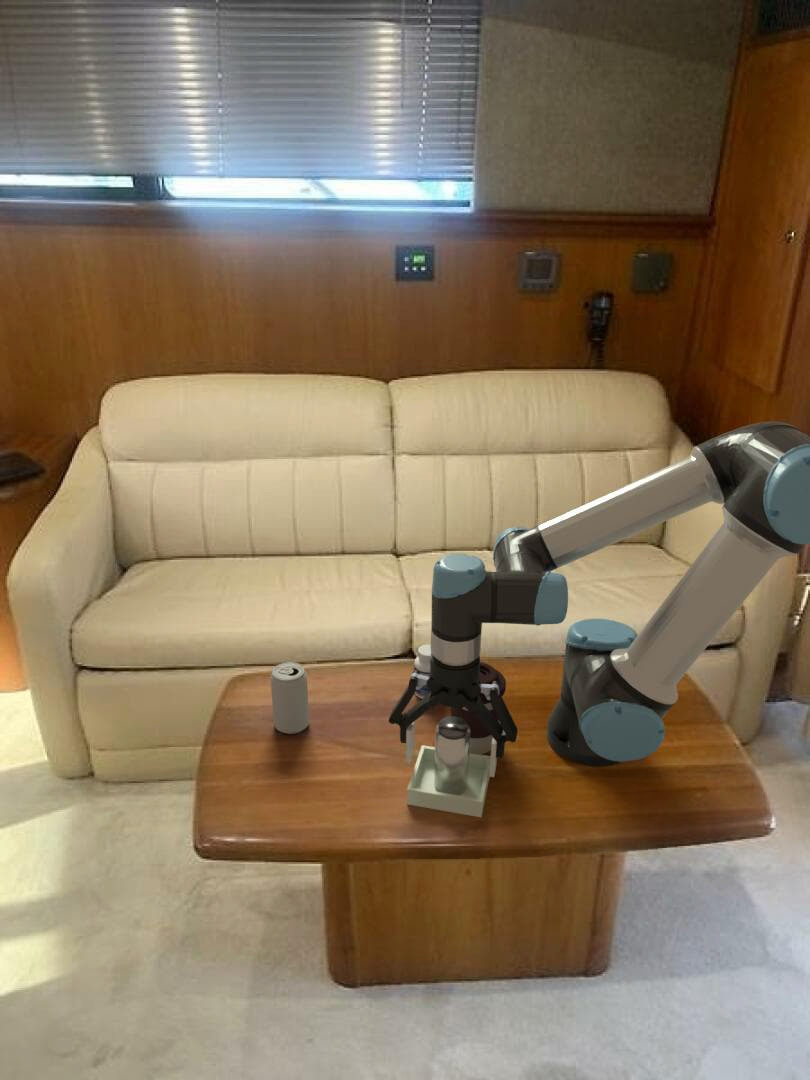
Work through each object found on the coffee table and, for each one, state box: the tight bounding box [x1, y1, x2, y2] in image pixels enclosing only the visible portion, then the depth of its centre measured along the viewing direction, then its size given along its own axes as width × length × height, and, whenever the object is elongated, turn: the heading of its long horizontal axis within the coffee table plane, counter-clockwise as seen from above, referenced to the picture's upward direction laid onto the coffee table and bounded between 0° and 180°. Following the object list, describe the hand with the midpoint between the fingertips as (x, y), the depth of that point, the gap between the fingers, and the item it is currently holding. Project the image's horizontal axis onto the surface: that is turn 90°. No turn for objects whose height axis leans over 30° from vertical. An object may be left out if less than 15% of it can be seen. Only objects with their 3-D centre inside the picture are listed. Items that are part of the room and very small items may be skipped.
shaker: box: [434, 715, 470, 795], centre depth 127 cm, size 6×6×12 cm
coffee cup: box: [449, 661, 507, 755], centre depth 136 cm, size 10×10×15 cm
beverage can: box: [270, 661, 310, 735], centre depth 141 cm, size 6×6×12 cm
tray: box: [406, 744, 491, 818], centre depth 129 cm, size 12×11×3 cm
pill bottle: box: [413, 643, 431, 700], centre depth 151 cm, size 5×5×10 cm
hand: (451, 764), depth 127 cm, fingers open, 13 cm apart
